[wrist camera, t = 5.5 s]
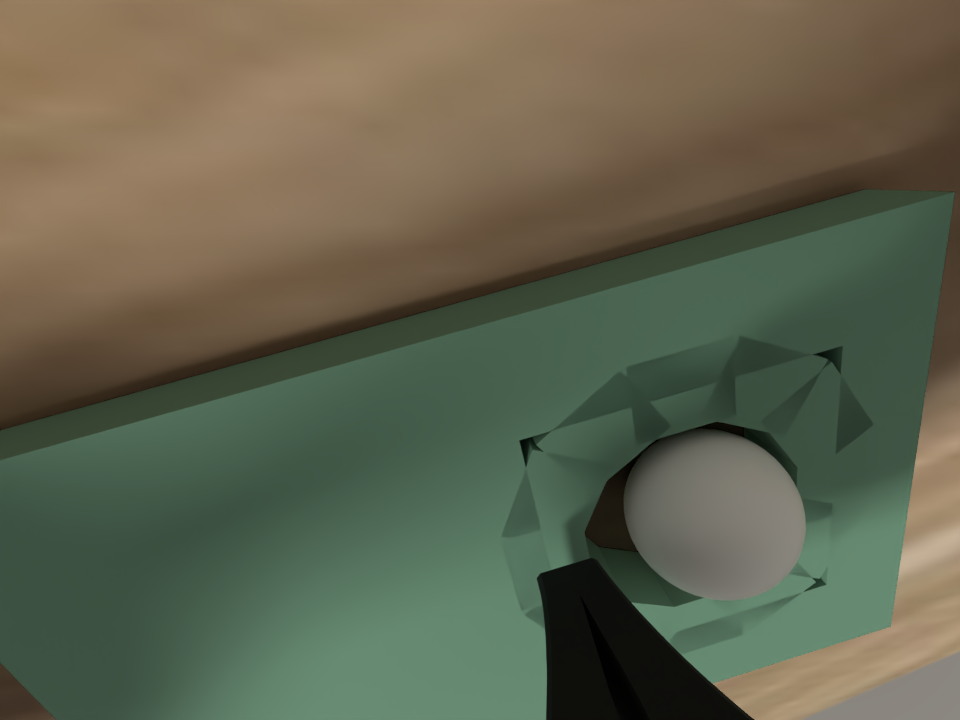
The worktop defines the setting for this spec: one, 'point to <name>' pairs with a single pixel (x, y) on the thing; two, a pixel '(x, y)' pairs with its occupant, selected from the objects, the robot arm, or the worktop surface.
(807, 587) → the putting mat
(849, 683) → the worktop surface
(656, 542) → the ball
